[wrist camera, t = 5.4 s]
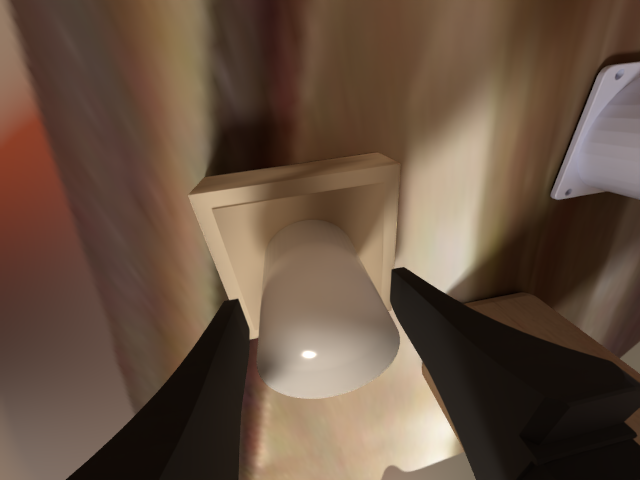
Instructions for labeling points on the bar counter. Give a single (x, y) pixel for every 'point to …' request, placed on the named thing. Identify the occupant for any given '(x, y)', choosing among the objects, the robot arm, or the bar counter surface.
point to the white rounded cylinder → (320, 315)
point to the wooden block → (540, 336)
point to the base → (298, 217)
